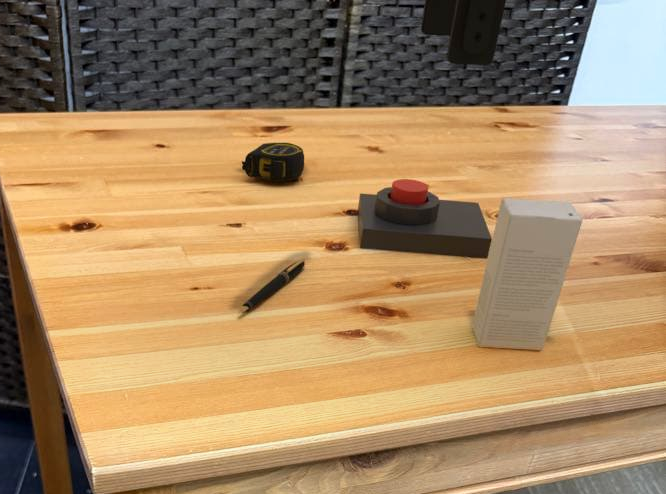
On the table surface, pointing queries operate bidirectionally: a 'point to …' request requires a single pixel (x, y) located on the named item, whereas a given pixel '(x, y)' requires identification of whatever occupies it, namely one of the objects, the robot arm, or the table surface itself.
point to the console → (422, 226)
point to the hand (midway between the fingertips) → (453, 48)
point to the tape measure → (275, 162)
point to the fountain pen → (274, 285)
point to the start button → (409, 192)
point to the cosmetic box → (525, 272)
